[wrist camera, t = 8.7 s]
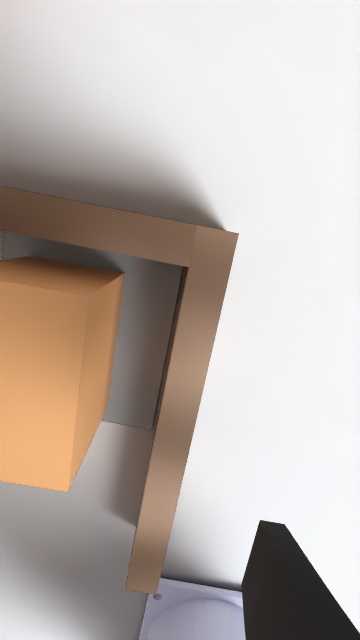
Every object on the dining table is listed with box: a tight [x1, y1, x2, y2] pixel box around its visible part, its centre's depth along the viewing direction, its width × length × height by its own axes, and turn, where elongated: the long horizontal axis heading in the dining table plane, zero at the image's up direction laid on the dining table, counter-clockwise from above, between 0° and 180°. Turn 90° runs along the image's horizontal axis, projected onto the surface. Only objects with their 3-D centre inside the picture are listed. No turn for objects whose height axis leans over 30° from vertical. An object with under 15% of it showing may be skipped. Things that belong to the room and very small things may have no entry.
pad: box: [2, 231, 183, 430], centre depth 17 cm, size 9×8×1 cm
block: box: [0, 256, 125, 492], centre depth 14 cm, size 4×7×6 cm, turn 170°
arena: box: [0, 186, 239, 595], centre depth 16 cm, size 17×17×4 cm
